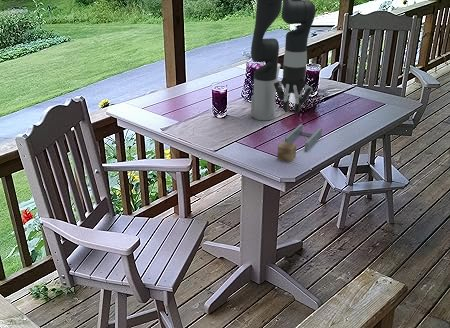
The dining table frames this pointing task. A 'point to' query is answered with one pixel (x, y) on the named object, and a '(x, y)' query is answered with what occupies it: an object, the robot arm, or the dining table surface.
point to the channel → (298, 131)
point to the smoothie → (277, 71)
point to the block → (286, 151)
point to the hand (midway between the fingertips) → (291, 112)
